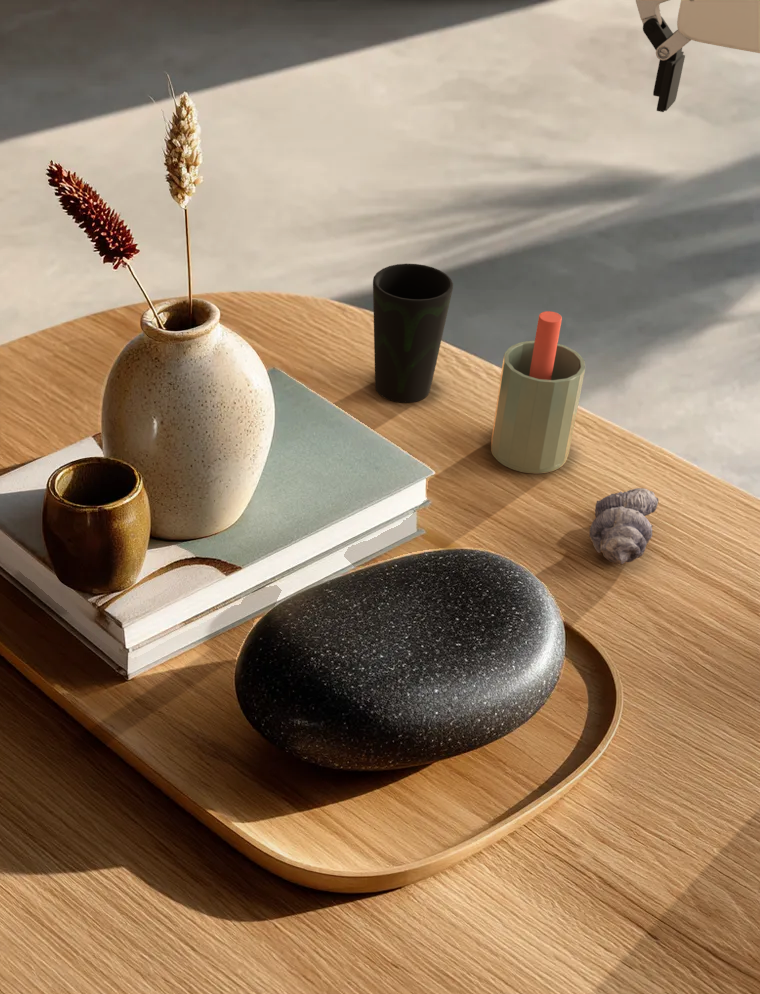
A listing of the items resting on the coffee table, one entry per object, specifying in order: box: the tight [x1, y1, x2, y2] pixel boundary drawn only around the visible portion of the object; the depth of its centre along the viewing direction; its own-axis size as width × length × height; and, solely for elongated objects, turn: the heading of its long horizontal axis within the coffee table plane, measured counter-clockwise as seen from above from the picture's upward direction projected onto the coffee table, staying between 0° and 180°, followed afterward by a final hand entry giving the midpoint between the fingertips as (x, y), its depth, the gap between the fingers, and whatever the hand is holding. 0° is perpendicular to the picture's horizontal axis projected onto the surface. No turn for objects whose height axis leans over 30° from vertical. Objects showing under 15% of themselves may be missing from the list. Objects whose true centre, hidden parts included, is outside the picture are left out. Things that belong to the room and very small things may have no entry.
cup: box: [372, 263, 454, 404], centre depth 131 cm, size 8×8×12 cm
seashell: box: [588, 487, 659, 565], centre depth 114 cm, size 5×5×10 cm
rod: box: [529, 310, 563, 380], centre depth 122 cm, size 2×2×14 cm
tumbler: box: [490, 339, 586, 475], centre depth 123 cm, size 7×7×10 cm
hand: (725, 118), depth 105 cm, fingers open, 9 cm apart
